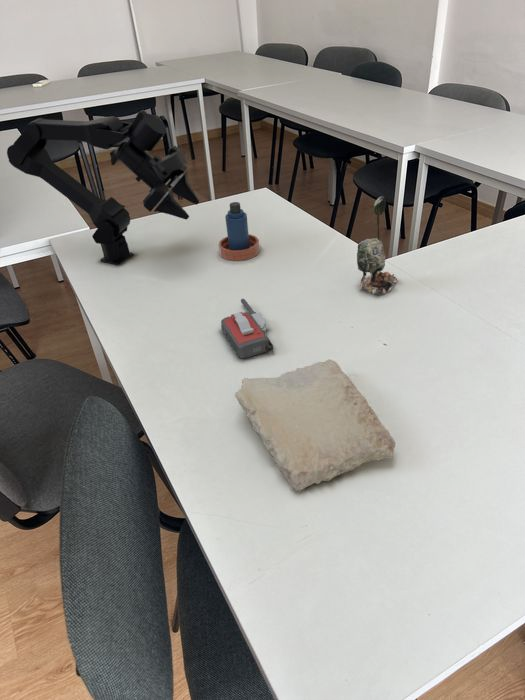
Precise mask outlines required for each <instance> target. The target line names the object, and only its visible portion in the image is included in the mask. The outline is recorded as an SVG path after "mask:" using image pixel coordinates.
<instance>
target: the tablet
mask: <svg viewBox="0 0 525 700" xmlns="http://www.w3.org/2000/svg"><path fill="white" fill-rule="evenodd" d="M241 384H242V385H241V388H239V389H238V390H237V391H236V392H235V393H234V397H235V398H236V399H237V402H238V404H239V406H240V407H241V408H242V410H244V412H245V413H246V417H247V418H248V419H249V420H250V423H251V424H252V428H253V429H254V431H256V432H257V434H258V435H260V437H261V438H262V442H263V445H264V447H265V448H266V449H267V451H268V452H269V454H270V455H271V457H273V459H274V460H275V463H276V465H277V467H278V469H279V471H280V472H282V475H283V478H284V479H286V480H287V483H288V485H290V487H291V488H292V489H294V490H296V491H303V490H304V489H306V488H308V487H309V486H313V484H315V485H318V484H321V482H330V481H332V479H333V478H335V477H337V476H340V475H341V474H345V473H347V472H350V471H353V470H355V469H356V468H357V467H361V465H362V464H364V463H366V462H372V461H378V462H379V461H381V459H386V458H387V459H390V458H391V459H392V458H394V451H395V448H396V440H395V439H394V437H393V436H392V435H391V434H390V432H389V430H388V429H387V428H386V427H385V426H384V425H382V422H381V420H380V418H379V417H378V415H377V414H376V412H375V411H374V409H373V408H372V407H371V406H370V403H369V402H368V400H367V399H366V398H365V396H364V395H363V394H362V393H361V392H360V391H359V389H358V388H357V386H356V385H355V383H354V382H352V380H351V378H350V377H349V376H348V375H347V374H346V373H345V372H344V371H343V370H342V368H341V367H340V365H339V363H338V362H336V361H335V360H333V359H327V360H324V361H318V362H315V363H313V364H310V365H306V366H303V367H297V368H296V369H295V370H291V371H286V372H284V373H282V374H281V375H280V376H277V377H254V378H249V377H244V378H242V380H241Z"/></svg>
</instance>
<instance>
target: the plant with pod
mask: <svg viewBox="0 0 525 700" xmlns="http://www.w3.org/2000/svg"><path fill="white" fill-rule="evenodd" d="M386 207H387V203H386V198H385V197H384V196H383V195H380V196H379V197H378V198H377V199H376V200H375V201H374V203H373V213H374V215H376V223H377V224H376V226H377V227H376V231H377V232H376V234H377V237H373V238H366V239H363V240H362V241H359V239H356V241H357V242H359V243H358V244H357V253H356V264H357V269H358V270H359V271H360V272H362V277H361V280H360V285H359V290H363V291H364V292H367V293H369V294H373V295H385V293H387V292H389V291H390V290H392V289H393V287H394V286H395V284H396V282H398V281H399V280H398V278H397V276H395V274H394V273H393V274H391V273H390V272H389V271H384V272H383V270H384V269H385V267H386V252H385V248H384V245H383V242H382V241H381V239H380V233H379V232H380V225H379V224H380V216H381V215H382V214H384V212H385V211H386ZM367 273H369V274H370V275H368V276H367Z"/></svg>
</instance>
